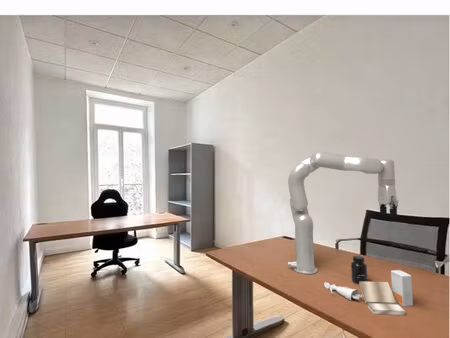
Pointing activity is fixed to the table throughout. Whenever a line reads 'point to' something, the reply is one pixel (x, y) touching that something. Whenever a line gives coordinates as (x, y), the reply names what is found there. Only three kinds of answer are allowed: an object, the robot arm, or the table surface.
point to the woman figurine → (344, 291)
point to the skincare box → (402, 287)
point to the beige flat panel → (377, 292)
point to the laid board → (386, 308)
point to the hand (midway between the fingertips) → (388, 215)
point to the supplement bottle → (358, 270)
